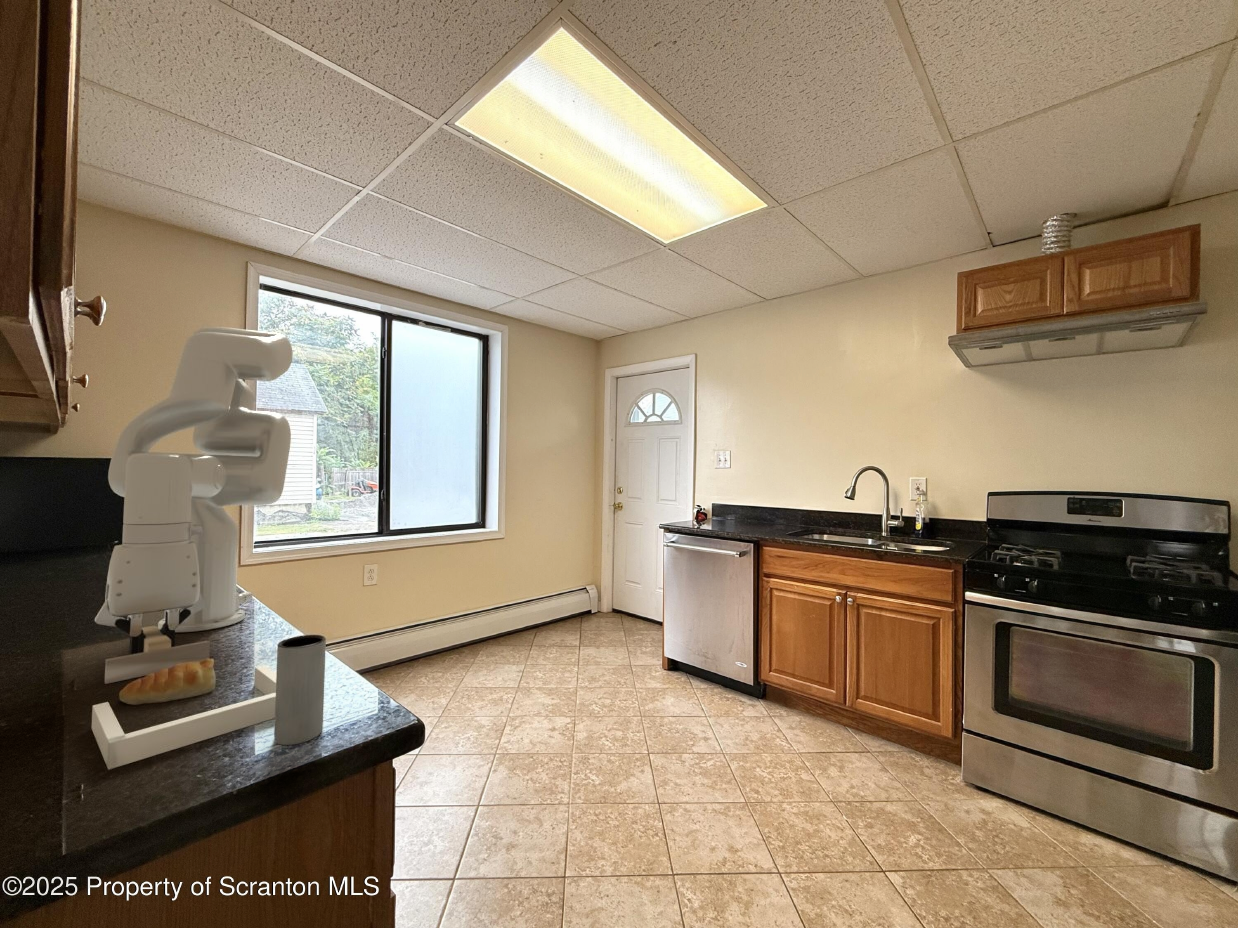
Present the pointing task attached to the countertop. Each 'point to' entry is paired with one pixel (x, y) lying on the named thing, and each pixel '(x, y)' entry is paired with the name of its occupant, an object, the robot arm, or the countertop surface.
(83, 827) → the countertop surface
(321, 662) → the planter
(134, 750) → the frame
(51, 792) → the countertop surface
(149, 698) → the pastry
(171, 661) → the dough scraper
